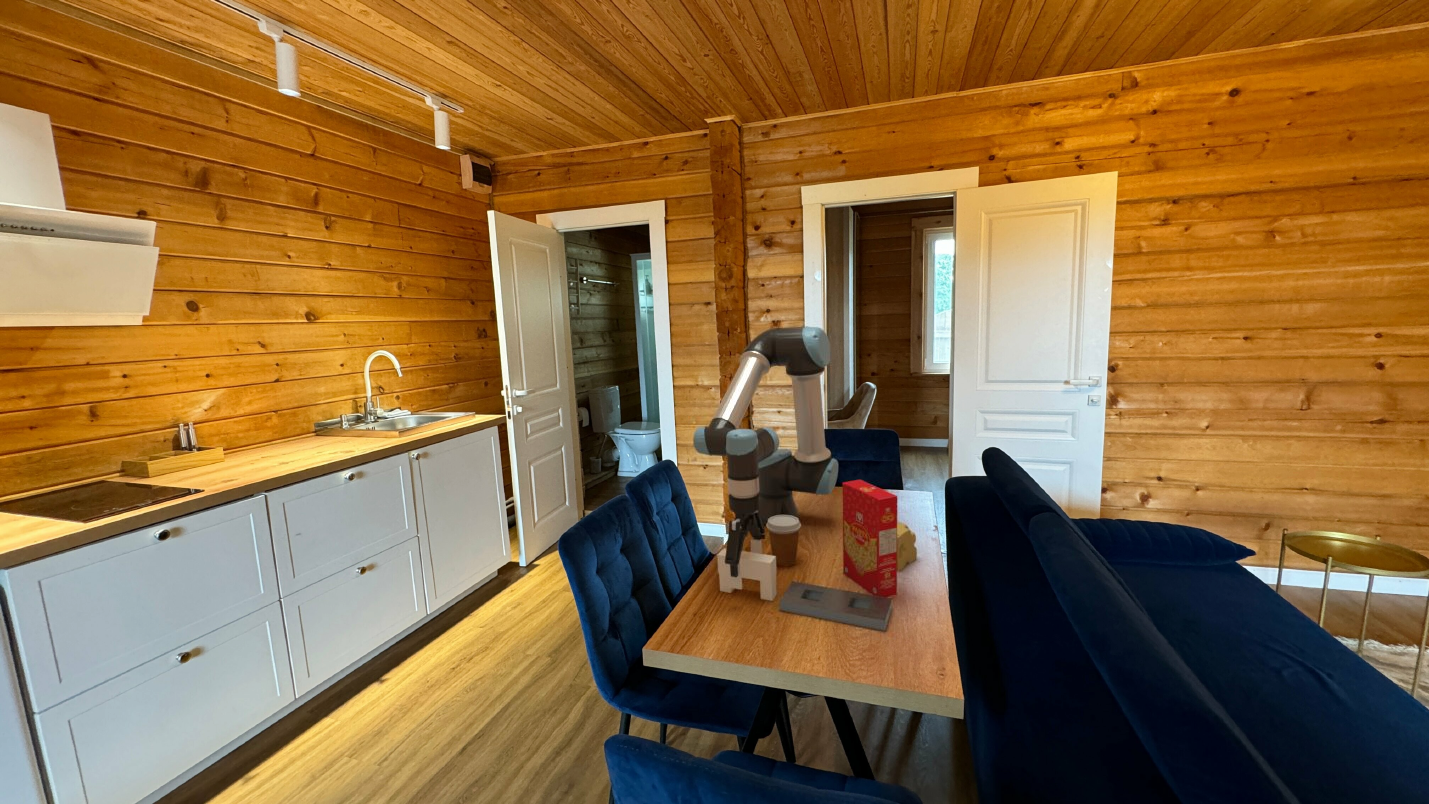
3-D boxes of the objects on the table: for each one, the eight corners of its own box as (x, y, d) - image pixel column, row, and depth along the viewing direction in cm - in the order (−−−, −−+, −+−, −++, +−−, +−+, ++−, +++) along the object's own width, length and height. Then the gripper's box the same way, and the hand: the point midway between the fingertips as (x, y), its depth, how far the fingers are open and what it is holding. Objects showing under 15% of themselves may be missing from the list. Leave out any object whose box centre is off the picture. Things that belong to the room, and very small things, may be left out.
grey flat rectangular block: (779, 610, 130) (779, 600, 129) (792, 590, 139) (792, 581, 138) (885, 631, 120) (885, 620, 119) (892, 608, 128) (892, 598, 128)
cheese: (917, 559, 152) (917, 525, 151) (898, 573, 145) (898, 537, 143) (882, 549, 160) (882, 516, 158) (862, 562, 152) (862, 527, 151)
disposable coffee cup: (800, 569, 150) (799, 527, 148) (765, 568, 151) (764, 526, 150) (802, 554, 159) (801, 514, 157) (769, 553, 161) (768, 513, 159)
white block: (719, 591, 140) (717, 554, 138) (725, 584, 143) (724, 548, 142) (771, 601, 134) (770, 563, 132) (777, 594, 137) (775, 556, 136)
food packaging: (843, 573, 146) (842, 482, 142) (860, 569, 148) (859, 479, 144) (878, 599, 133) (878, 499, 129) (896, 594, 134) (897, 496, 130)
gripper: (748, 477, 147) (751, 552, 151) (707, 509, 125) (711, 596, 128) (775, 479, 144) (777, 556, 147) (738, 512, 122) (741, 602, 125)
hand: (747, 575), depth 138 cm, fingers open, 13 cm apart
